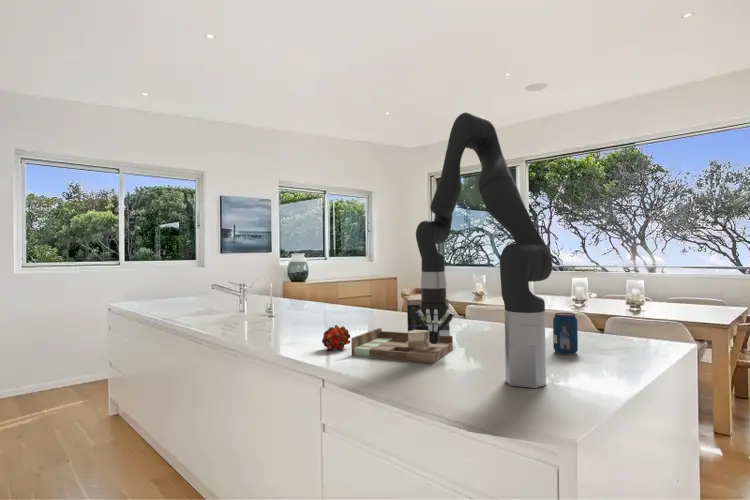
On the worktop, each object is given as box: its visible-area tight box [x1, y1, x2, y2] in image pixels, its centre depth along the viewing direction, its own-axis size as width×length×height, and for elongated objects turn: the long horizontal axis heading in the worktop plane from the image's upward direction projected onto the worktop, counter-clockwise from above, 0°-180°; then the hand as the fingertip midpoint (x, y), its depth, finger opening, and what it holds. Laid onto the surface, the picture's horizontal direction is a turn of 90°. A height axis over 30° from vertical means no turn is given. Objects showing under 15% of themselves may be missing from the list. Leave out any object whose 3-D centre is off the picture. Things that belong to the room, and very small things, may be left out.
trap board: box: [350, 327, 454, 365], centre depth 145 cm, size 20×26×6 cm
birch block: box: [407, 330, 429, 348], centre depth 142 cm, size 5×5×4 cm
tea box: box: [406, 296, 451, 336], centre depth 169 cm, size 15×10×15 cm, turn 84°
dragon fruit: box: [321, 324, 351, 352], centre depth 151 cm, size 8×8×12 cm
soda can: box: [552, 312, 579, 356], centre depth 142 cm, size 7×7×12 cm
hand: (434, 343), depth 140 cm, fingers closed
